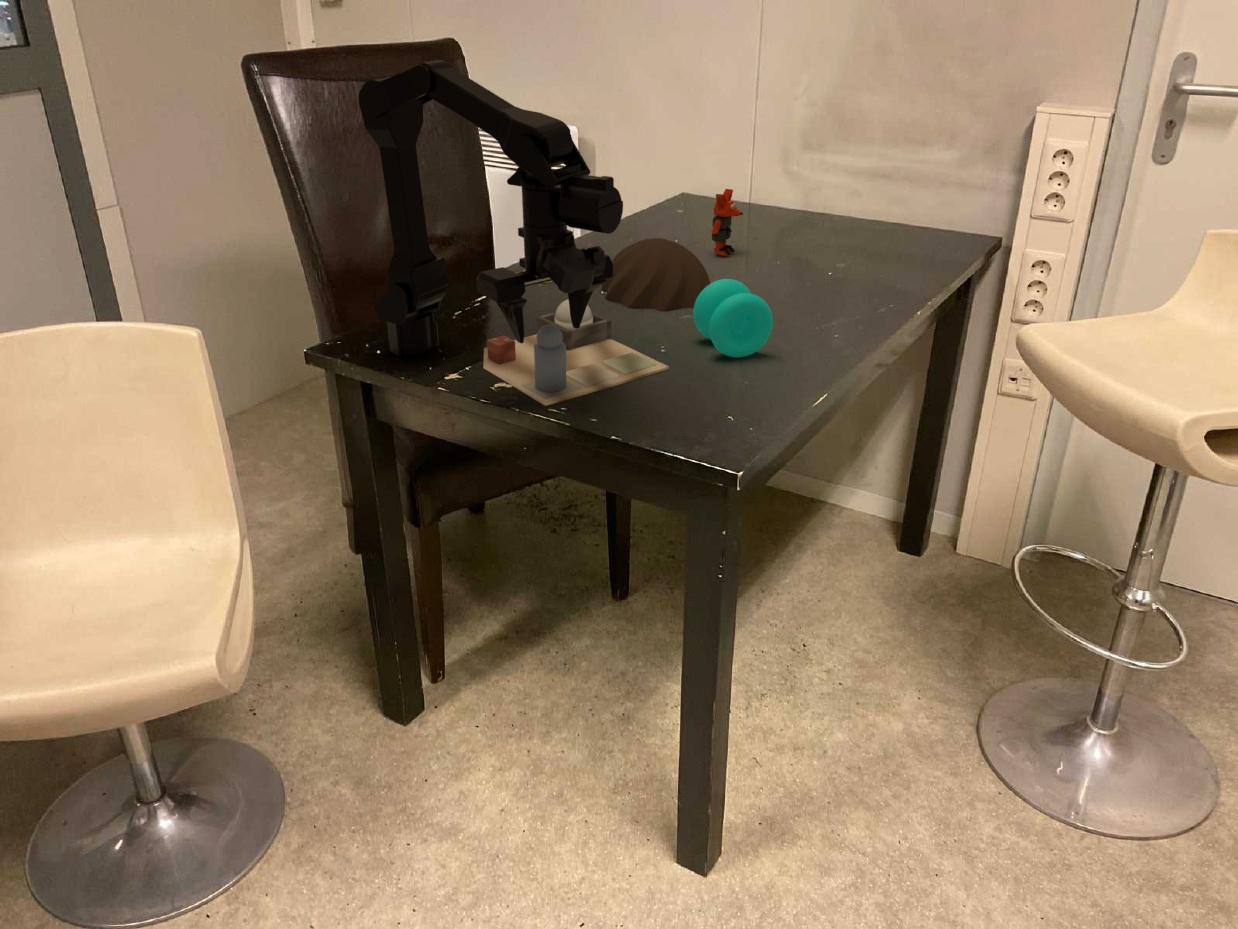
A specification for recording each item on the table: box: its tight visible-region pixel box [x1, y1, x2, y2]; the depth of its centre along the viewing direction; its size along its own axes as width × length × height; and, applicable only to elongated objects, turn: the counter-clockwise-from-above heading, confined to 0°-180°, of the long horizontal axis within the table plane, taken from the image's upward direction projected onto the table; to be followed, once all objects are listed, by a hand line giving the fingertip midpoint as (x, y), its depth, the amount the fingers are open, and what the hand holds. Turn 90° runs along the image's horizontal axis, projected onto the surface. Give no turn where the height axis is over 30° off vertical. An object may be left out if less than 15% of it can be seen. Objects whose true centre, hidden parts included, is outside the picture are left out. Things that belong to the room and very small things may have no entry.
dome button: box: [555, 299, 593, 329], centre depth 157 cm, size 6×6×6 cm
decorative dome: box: [601, 237, 711, 313], centre depth 177 cm, size 19×20×10 cm
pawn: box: [534, 325, 567, 392], centre depth 139 cm, size 4×4×9 cm
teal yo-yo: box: [692, 278, 774, 358], centre depth 153 cm, size 10×10×10 cm
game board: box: [483, 310, 670, 407], centre depth 150 cm, size 22×23×4 cm
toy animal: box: [711, 188, 744, 256], centre depth 198 cm, size 8×6×12 cm
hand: (548, 334), depth 138 cm, fingers open, 9 cm apart
